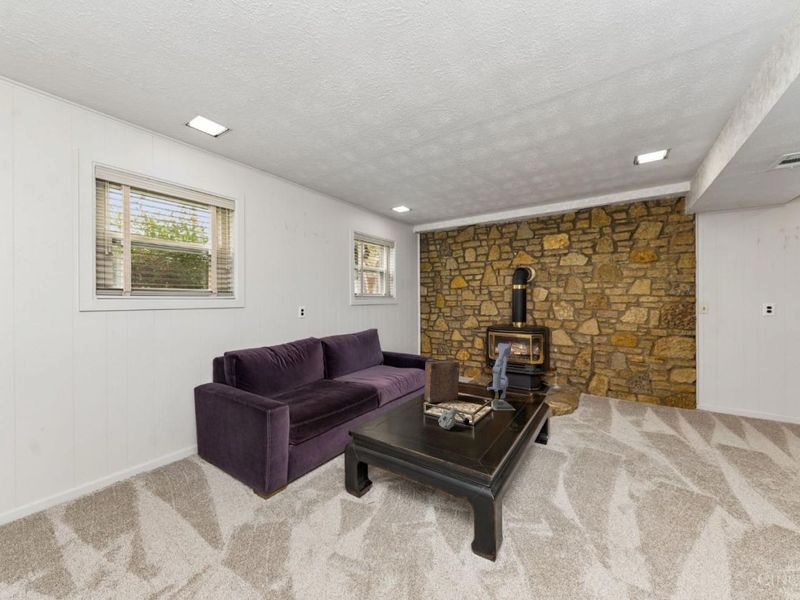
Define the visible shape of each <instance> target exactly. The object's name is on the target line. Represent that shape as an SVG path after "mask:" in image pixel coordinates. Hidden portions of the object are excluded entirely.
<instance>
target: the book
mask: <svg viewBox="0 0 800 600" xmlns="http://www.w3.org/2000/svg"><path fill="white" fill-rule="evenodd" d="M424 367H425V368H424V370H425V371H424V372H425V373H424V394H423V396H424V397H423V398H424V399H423V400H425V401H426V402H427V403H429V402H431V403H430V404H436V403H443V402H444V403H445V402H451V401H458V400H459V388H460V387H459V385H460V384H459V381H460V361H454V359H442V360H440V359H439V360H427V361H425V366H424Z"/></svg>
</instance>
